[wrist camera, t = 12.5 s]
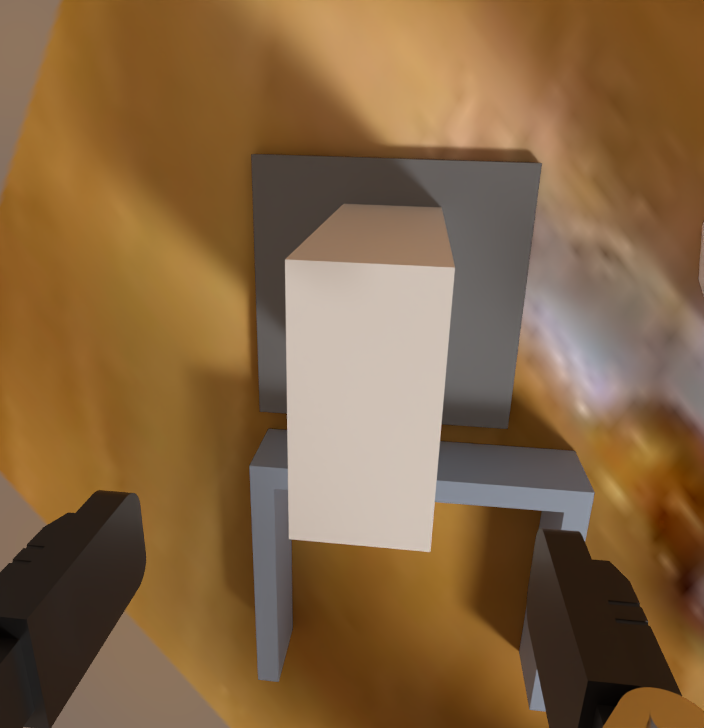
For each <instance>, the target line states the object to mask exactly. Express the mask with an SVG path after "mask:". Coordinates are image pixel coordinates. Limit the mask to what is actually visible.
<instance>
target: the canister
mask: <svg viewBox="0 0 704 728" xmlns="http://www.w3.org/2000/svg"><path fill="white" fill-rule="evenodd" d="M698 280H699V283H700V287H701V290H702V293H703V297H704V221H703V224H702V233H701V247H700V262H699V276H698Z"/></svg>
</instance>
